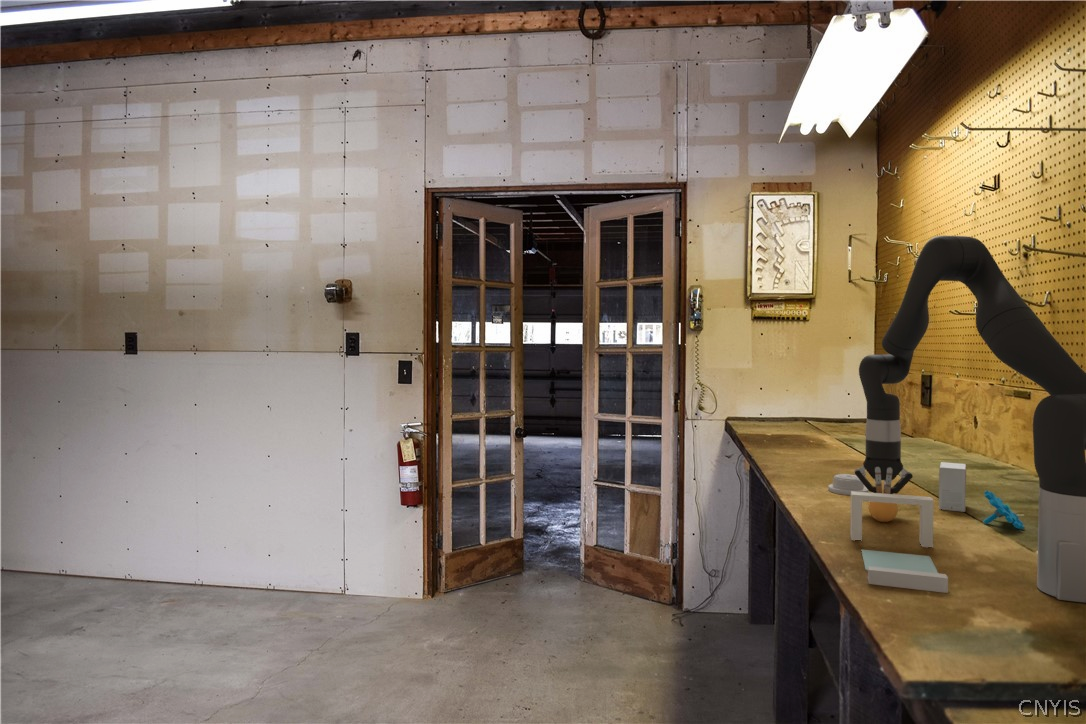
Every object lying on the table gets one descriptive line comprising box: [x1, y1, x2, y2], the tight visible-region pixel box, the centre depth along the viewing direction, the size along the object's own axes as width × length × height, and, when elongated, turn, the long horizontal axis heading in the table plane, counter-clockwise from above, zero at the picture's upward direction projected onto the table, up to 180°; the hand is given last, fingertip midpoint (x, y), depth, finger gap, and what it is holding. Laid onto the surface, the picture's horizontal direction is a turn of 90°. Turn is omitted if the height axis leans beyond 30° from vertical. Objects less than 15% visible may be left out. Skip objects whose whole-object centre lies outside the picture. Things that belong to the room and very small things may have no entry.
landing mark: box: [860, 549, 939, 574], centre depth 127 cm, size 12×12×1 cm
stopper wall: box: [867, 566, 949, 594], centre depth 116 cm, size 2×12×2 cm, turn 68°
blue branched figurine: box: [982, 490, 1025, 530], centre depth 151 cm, size 11×6×10 cm
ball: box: [868, 502, 899, 523], centre depth 155 cm, size 6×6×6 cm
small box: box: [938, 461, 967, 513], centre depth 166 cm, size 8×6×10 cm
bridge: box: [850, 491, 935, 549], centre depth 140 cm, size 3×15×10 cm, turn 68°
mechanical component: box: [828, 473, 869, 496], centre depth 184 cm, size 10×4×10 cm
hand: (882, 509), depth 161 cm, fingers closed
